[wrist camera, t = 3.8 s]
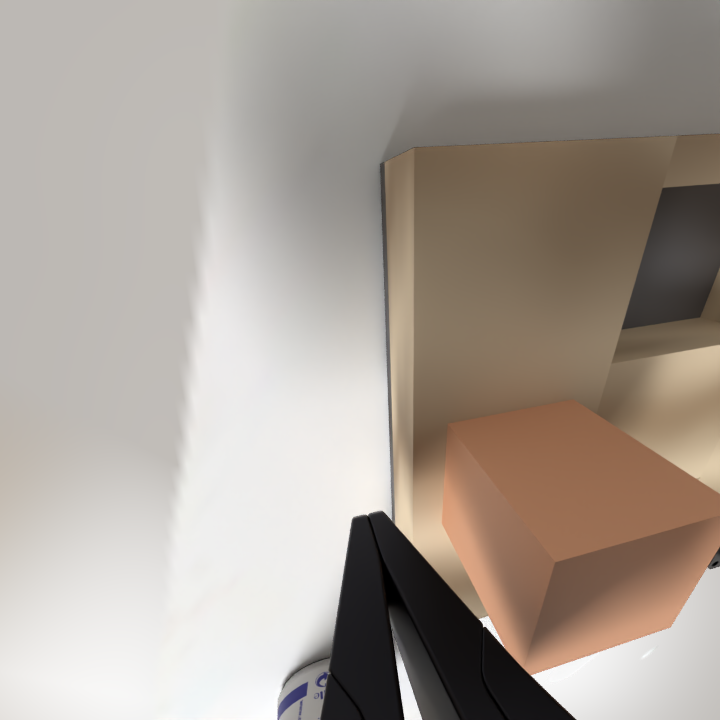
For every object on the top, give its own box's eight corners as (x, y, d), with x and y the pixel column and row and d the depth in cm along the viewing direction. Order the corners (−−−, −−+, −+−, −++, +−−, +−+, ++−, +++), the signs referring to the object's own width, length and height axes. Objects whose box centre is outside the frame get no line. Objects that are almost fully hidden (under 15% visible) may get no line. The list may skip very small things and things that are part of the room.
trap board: (700, 497, 18) (848, 598, 14) (394, 580, 15) (444, 746, 11) (889, 137, 11) (1349, 81, 6) (380, 163, 8) (517, 97, 3)
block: (549, 497, 11) (670, 627, 8) (441, 523, 11) (520, 679, 7) (573, 399, 10) (742, 509, 6) (447, 423, 9) (555, 562, 5)
